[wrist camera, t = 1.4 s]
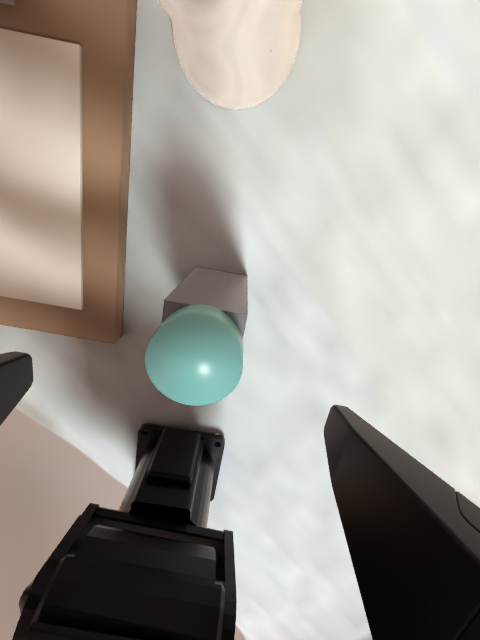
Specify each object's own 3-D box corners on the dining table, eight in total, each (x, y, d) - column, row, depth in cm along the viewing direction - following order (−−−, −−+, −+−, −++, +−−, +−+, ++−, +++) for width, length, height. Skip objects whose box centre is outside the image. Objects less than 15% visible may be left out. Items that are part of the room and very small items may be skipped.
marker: (239, 324, 20) (233, 412, 11) (188, 315, 19) (141, 397, 11) (249, 274, 18) (250, 327, 10) (195, 264, 18) (148, 310, 10)
